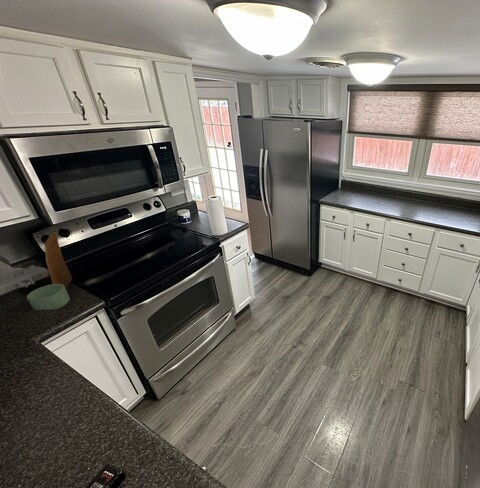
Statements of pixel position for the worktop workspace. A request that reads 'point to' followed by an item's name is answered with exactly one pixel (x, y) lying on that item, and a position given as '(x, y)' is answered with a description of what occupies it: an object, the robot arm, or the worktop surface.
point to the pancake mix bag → (56, 262)
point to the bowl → (49, 297)
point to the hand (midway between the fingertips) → (30, 284)
